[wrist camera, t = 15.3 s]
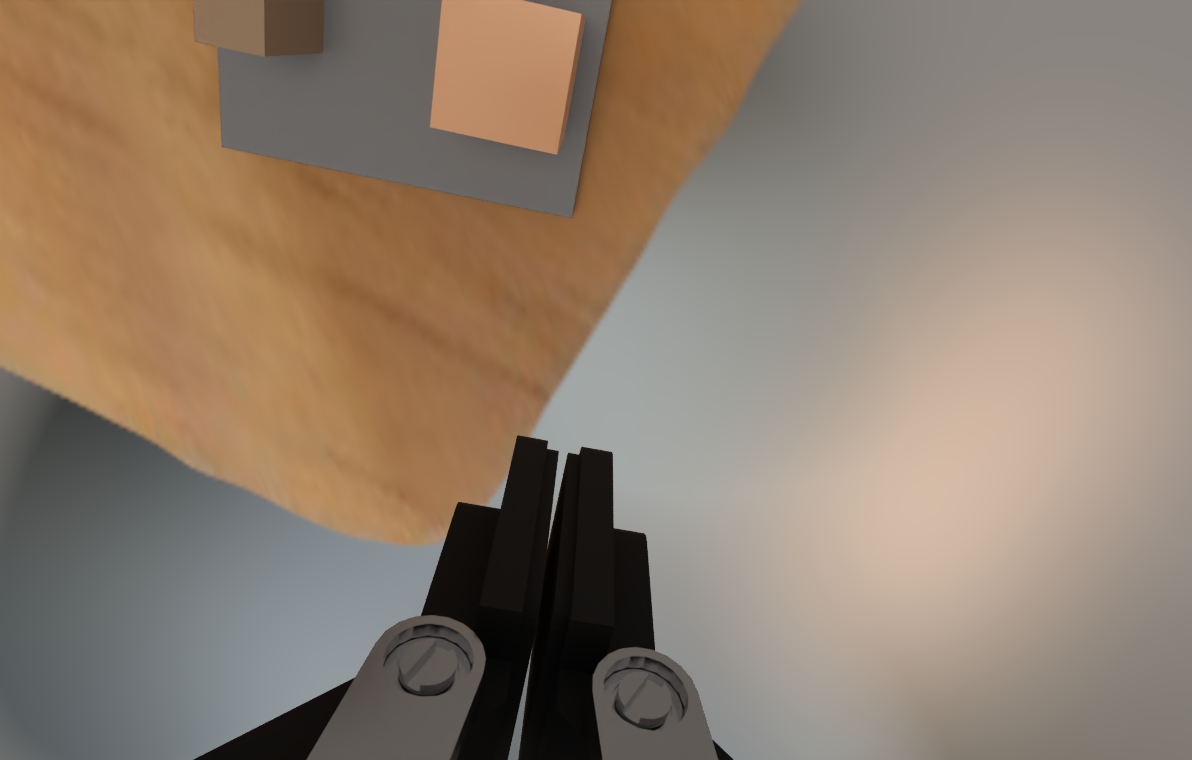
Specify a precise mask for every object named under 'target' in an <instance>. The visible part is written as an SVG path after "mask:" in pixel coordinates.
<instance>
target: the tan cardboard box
mask: <svg viewBox="0 0 1192 760" xmlns="http://www.w3.org/2000/svg"><path fill="white" fill-rule="evenodd" d="M585 20H586V17H585V16H584V15H582V14H580V13H576V12H572V11H567V10H563V9H559V8H554V7H550V6H546V5H542V4H537V3H533V2H529V1H524V0H442V5H441V15H440V26H439V37H438V47H437V58H436V68H435V79H434V89H433V100H432V111H431V121H430V127H431V128H436V129H441V130H445V131H450V132H454V133H459V134H464V135H468V136H473V137H478V138H482V139H487V140H491V141H496V142H501V143H505V144H510V145H514V146H519V147H524V148H528V149H533V150H537V151H542V152H547V153H551V154H556V155H557V153H558V151H559V149H560V146H561V144H562V141H563V139H564V137H565V133H566V127H567V121H568V116H569V110H570V104H571V99H572V93H573V88H574V82H575V76H576V71H577V65H578V60H579V54H580V48H581V43H582V37H583V31H584V26H585Z"/></svg>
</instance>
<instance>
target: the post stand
mask: <svg viewBox="0 0 1192 760" xmlns="http://www.w3.org/2000/svg"><path fill="white" fill-rule="evenodd" d="M524 1H529V2H533V3H537V4H542V5H546V6H550V7H554V8H559V9H563V10H567V11H572V12H576V13H580V14H582V15H584V16H585V17H586V20H585V26H584V31H583V37H582V43H581V48H580V54H579V60H578V65H577V71H576V76H575V82H574V88H573V93H572V99H571V104H570V110H569V116H568V121H567V127H566V133H565V137H564V139H563V141H562V144H561V146H560V149H559V151H558V153H557V155H556V154H551V153H547V152H542V151H537V150H533V149H528V148H524V147H519V146H514V145H510V144H505V143H501V142H496V141H491V140H487V139H482V138H478V137H473V136H468V135H464V134H459V133H454V132H450V131H445V130H441V129H436V128H431V127H430V121H431V111H432V100H433V89H434V79H435V68H436V58H437V47H438V37H439V26H440V15H441V5H442V0H193V14H194V32H195V42H198V43H202V44H207V45H212V46H217V47H218V63H219V88H220V114H221V139H222V147H224V148H229V149H233V150H238V151H243V152H248V153H253V154H258V155H263V156H268V157H273V158H278V159H283V160H288V161H293V162H297V163H302V164H307V165H312V166H317V167H322V168H327V169H332V170H337V171H342V172H347V173H352V174H357V175H361V176H366V177H371V178H376V179H381V180H386V181H391V182H396V183H401V184H406V185H411V186H416V187H421V188H425V189H430V190H435V191H440V192H445V193H450V194H455V195H460V196H465V197H470V198H475V199H480V200H485V201H489V202H494V203H499V204H504V205H509V206H514V207H519V208H524V209H529V210H534V211H539V212H544V213H549V214H553V215H558V216H563V217H568V218H572V213H573V208H574V202H575V197H576V192H577V186H578V181H579V175H580V170H581V165H582V159H583V154H584V148H585V143H586V138H587V132H588V127H589V121H590V116H591V110H592V105H593V100H594V94H595V89H596V83H597V78H598V73H599V67H600V62H601V56H602V51H603V46H604V40H605V35H606V29H607V24H608V18H609V13H610V8H611V2H612V0H524Z"/></svg>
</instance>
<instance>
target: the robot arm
mask: <svg viewBox="0 0 1192 760" xmlns="http://www.w3.org/2000/svg"><path fill="white" fill-rule="evenodd" d="M547 444H548V441H546V440H541V439H535V438H530V437H524V436H517V439H516V444H515V448H514V453H513V457H512V461H511V466H510V470H509V475H508V479H507V483H506V488H505V492H504V497H503V501H502V505H501V509H497V508H491V507H485V506H480V505H474V504H468V503H462V502H458V504H457V506H456V509H455V512H454V515H453V518H452V521H451V524H450V527H449V530H448V533H447V537H446V540H445V543H444V546H443V549H442V552H441V556H440V558H439V562H438V565H437V568H436V571H435V574H434V577H433V580H432V583H431V586H430V589H429V593H428V596H427V599H426V602H425V605H424V608H423V611H422V614H421V616H417V617H413V618H410V619H407V620H404V621H401V622H399V623H397V624H396V625H394V626H393V627H391V628H389V629H388V630H386V631H385V632H384V634H383V635H382V636H381V637H380V639H379V640H378V641H377V642H376V643H375V645H374V647H373V648H372V650H371V652H370V653H369V655H368V657H367V659H366V660H365V662H364V664H363V665H362V667H361V669H360V670H359V672H358V674H357V675H356V677H355V678H353V679H351V680H349V681H348V682H345V683H343V684H341V685H340V686H338V687H336V688H333V689H331V690H330V691H328V692H326V693H324V694H322V695H320V696H318V697H316V698H314V699H312V700H310V701H308V702H306V703H304V704H302V705H300V706H298V707H296V708H294V709H292V710H290V711H288V712H286V713H284V714H282V715H280V716H278V717H276V718H274V719H273V720H271V721H269V722H267V723H265V724H263V725H261V726H259V727H257V728H255V729H253V730H251V731H249V732H247V733H245V734H243V735H242V736H239V737H237V738H235V739H233V740H231V741H229V742H227V743H225V744H223V745H221V746H220V747H218V748H216V749H214V750H212V751H210V752H208V753H206V754H204V755H202V756H200V757H198V758H196V759H194V760H508V755H509V751H510V746H511V742H512V737H513V732H514V728H515V723H516V719H517V714H518V709H519V704H520V700H521V696H522V691H523V687H524V682H525V678H526V673H527V668H528V664H529V659H530V655H531V662H530V670H529V678H528V686H527V695H526V702H525V711H524V719H523V727H522V735H521V743H520V751H519V759H518V760H733V759H732V758H731V757H730V756H729V755H728V754H727V753H726V752H725V751H724V750H723V749H722V748H721V747H720V746H719V745H718V744H717V743H715V742H714V741H713V740H712V737H711V734H710V731H709V727H708V724H707V721H706V717H705V714H704V711H703V707H702V704H701V701H700V697H699V694H698V691H697V689H696V688H695V685H694V683H693V681H692V679H691V677H690V676H689V675H688V674H687V673H686V671H685V670H684V669H683V668H682V667H681V666H680V665H679V664H677V663H676V662H674V661H673V660H672V659H671V658H669V657H668V656H666V655H663V654H661V653H659V652H656V651H655V643H654V631H653V617H652V603H651V590H650V576H649V563H648V550H647V540H646V535H645V534H644V533H638V532H633V531H626V530H621V529H614V528H613V454H612V452H608V451H603V450H597V449H591V448H585V447H581V450H580V454H579V455H577V454H571V453H568V455H567V460H566V464H565V469H564V473H563V478H562V483H561V488H560V492H559V497H558V502H557V506H556V511H555V516H554V521H553V525H552V530H551V534H550V539H549V544H548V537H549V529H550V520H551V512H552V504H553V495H554V486H555V478H556V469H557V462H558V453H559V452H558V451H555V450H550V449H547ZM547 546H548V548H547ZM531 650H532V654H531Z"/></svg>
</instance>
